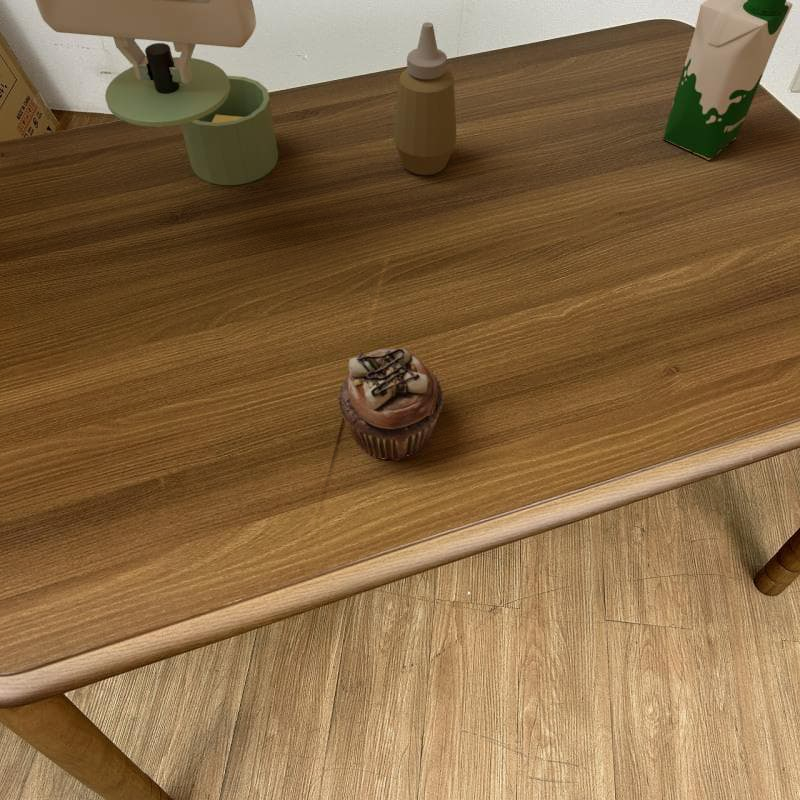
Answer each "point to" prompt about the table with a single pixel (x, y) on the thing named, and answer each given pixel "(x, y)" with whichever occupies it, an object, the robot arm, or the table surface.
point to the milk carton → (723, 71)
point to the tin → (234, 137)
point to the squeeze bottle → (425, 108)
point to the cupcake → (390, 402)
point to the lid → (167, 92)
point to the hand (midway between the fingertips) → (165, 79)
